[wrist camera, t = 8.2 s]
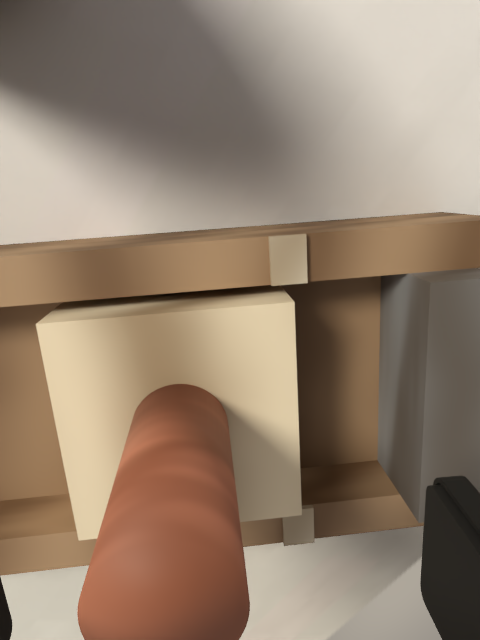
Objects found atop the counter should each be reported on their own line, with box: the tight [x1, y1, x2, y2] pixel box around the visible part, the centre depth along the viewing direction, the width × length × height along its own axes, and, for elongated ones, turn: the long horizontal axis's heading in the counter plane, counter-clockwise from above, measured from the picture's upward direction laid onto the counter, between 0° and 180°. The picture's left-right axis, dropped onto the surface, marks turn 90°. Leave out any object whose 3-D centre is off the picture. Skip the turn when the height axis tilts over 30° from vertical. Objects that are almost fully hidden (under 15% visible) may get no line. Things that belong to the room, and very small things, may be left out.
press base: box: [0, 212, 480, 575], centre depth 18 cm, size 26×12×6 cm, turn 94°
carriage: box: [36, 285, 302, 640], centre depth 14 cm, size 8×8×10 cm
